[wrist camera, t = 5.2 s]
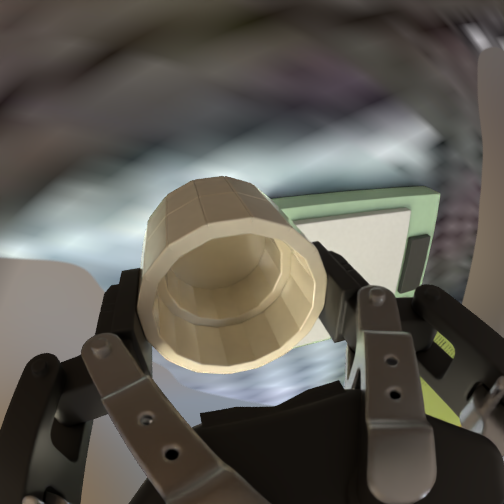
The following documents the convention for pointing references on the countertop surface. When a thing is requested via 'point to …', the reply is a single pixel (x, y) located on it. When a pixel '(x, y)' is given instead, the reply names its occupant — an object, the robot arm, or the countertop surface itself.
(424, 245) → the scale
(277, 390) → the countertop surface
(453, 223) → the countertop surface
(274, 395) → the countertop surface
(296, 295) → the beige cup
